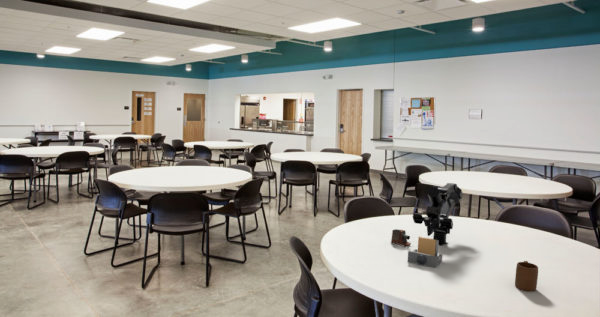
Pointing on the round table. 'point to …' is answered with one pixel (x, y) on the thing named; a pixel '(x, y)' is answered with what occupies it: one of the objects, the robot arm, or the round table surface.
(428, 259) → the grey cabinet body
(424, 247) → the side door
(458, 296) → the round table surface
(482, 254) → the round table surface
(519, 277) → the mug
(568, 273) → the round table surface
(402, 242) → the electronic device
